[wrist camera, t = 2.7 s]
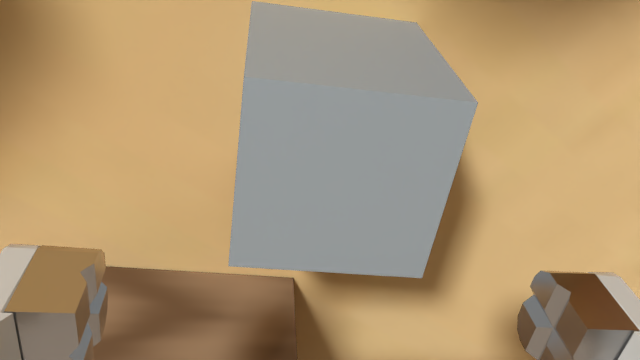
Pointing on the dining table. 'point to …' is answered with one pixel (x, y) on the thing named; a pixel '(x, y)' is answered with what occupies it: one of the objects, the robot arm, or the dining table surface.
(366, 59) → the slate block
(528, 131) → the dining table surface
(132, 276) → the walnut block
